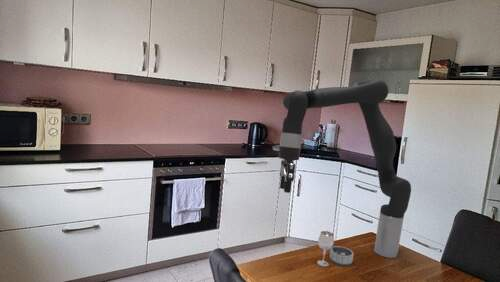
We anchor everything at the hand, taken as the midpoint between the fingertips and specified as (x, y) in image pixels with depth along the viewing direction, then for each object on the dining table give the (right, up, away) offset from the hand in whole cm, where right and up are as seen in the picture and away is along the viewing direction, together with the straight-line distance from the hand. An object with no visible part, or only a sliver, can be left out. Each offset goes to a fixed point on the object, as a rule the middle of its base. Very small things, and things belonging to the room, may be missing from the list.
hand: (284, 190), depth 123 cm
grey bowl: (+23, -29, +10) cm, 38 cm away
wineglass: (+15, -29, +6) cm, 33 cm away
